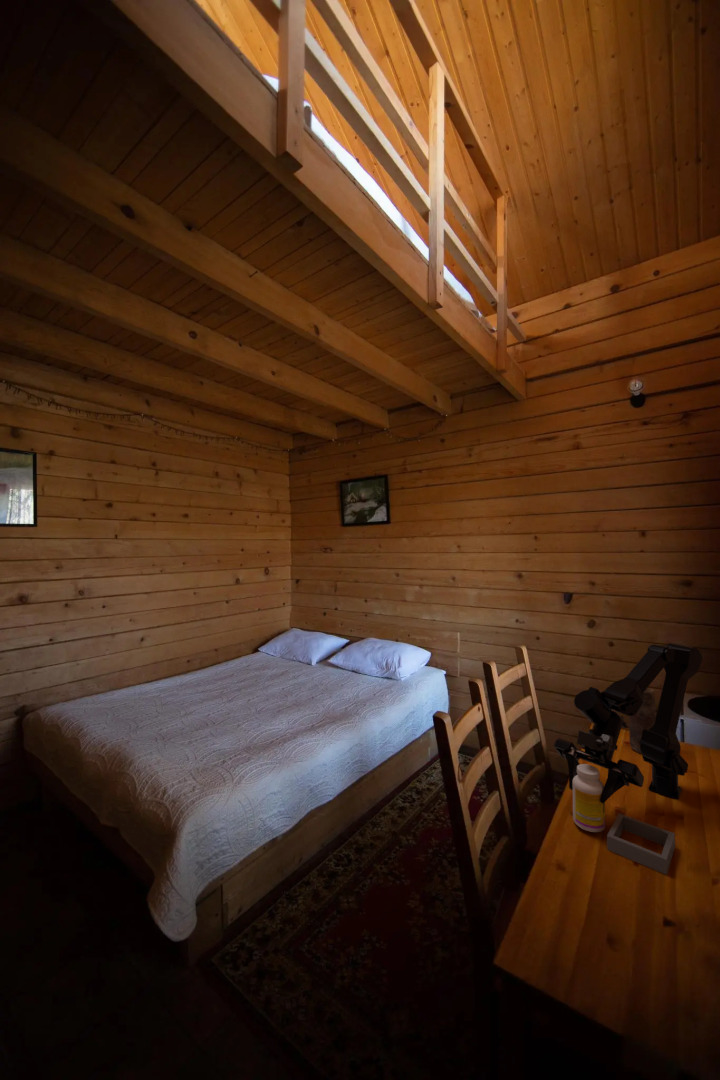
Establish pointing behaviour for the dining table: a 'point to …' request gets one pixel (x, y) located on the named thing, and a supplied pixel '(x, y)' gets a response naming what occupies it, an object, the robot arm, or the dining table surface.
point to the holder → (637, 852)
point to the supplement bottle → (588, 799)
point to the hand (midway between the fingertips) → (585, 795)
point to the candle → (642, 719)
